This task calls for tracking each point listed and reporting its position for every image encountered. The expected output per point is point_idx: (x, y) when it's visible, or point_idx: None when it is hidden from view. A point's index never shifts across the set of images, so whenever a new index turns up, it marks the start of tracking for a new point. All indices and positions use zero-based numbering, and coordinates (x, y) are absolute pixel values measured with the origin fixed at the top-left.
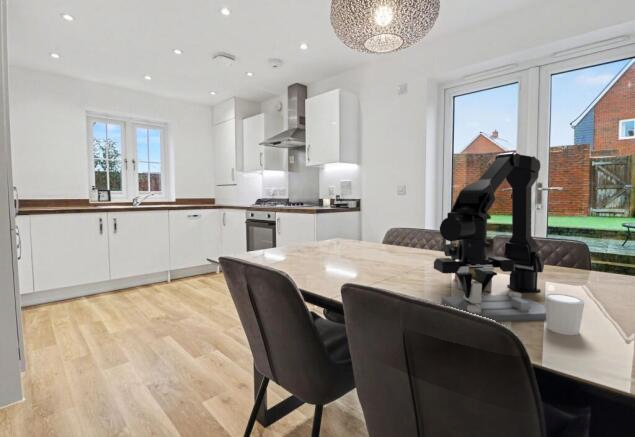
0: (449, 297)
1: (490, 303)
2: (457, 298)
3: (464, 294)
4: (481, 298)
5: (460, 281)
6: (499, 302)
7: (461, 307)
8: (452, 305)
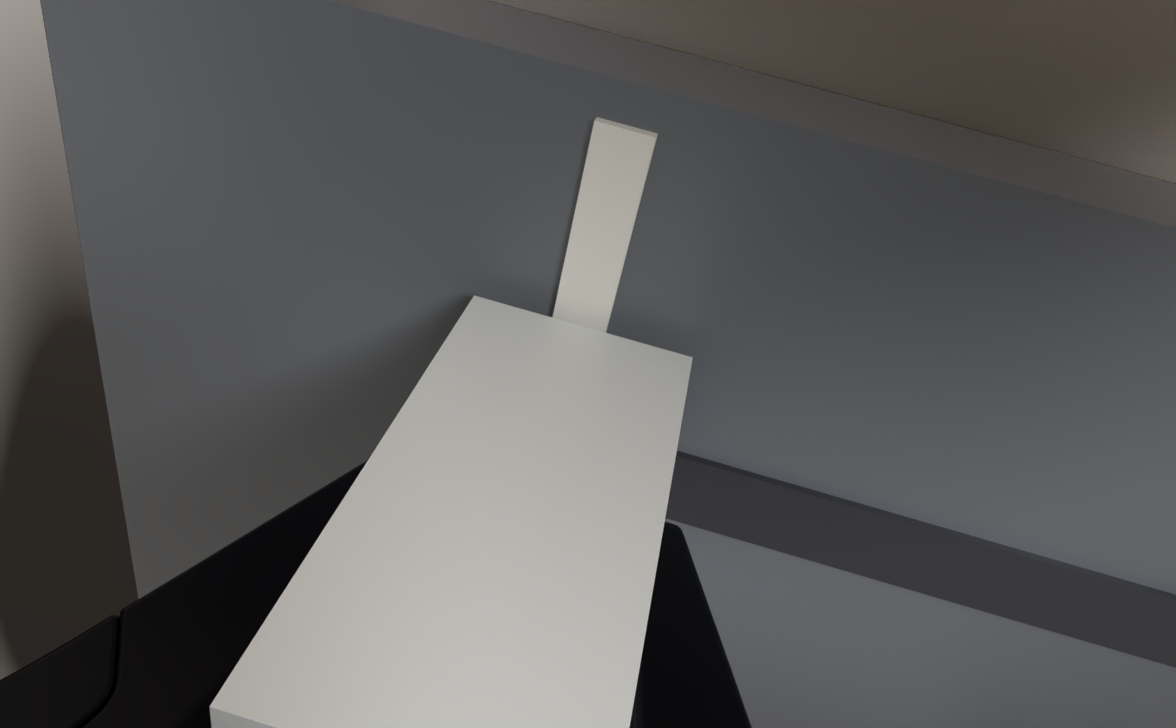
0: (219, 23)
1: (810, 627)
2: (379, 168)
3: (437, 369)
4: (946, 388)
5: (3, 705)
6: (1032, 664)
7: (195, 543)
8: (116, 395)
